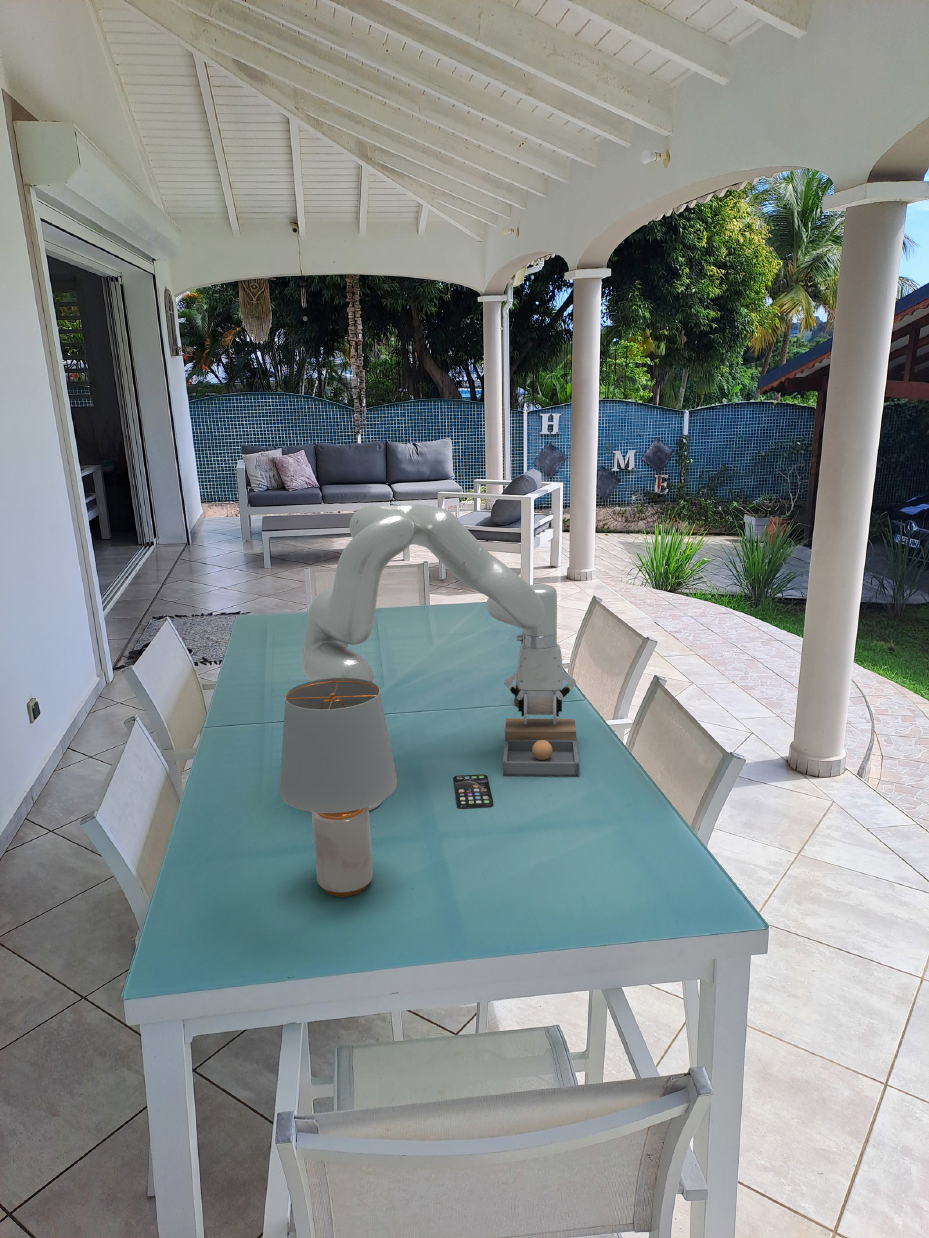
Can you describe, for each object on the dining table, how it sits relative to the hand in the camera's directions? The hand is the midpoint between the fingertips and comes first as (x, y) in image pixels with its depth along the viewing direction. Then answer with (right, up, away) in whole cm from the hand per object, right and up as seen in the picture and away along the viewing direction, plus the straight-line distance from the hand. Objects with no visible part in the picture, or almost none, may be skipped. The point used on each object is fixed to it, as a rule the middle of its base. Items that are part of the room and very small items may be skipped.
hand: (540, 713), depth 198 cm
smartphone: (-16, -14, -20) cm, 29 cm away
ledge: (0, -7, +2) cm, 8 cm away
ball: (0, -7, -7) cm, 10 cm away
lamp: (-37, -23, -52) cm, 68 cm away
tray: (-1, -10, -8) cm, 13 cm away
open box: (0, -1, 0) cm, 1 cm away
